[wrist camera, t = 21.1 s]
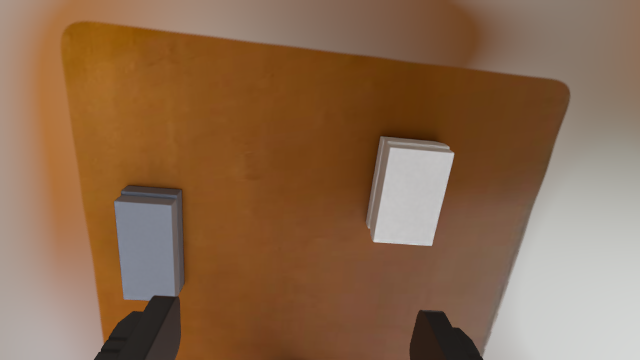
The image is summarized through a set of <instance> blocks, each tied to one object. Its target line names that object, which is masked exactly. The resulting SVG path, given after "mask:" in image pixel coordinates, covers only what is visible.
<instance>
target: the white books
mask: <svg viewBox="0 0 640 360" xmlns="http://www.w3.org/2000/svg"><path fill="white" fill-rule="evenodd" d="M387 143H388V144H399V145H410V146H420V147H431V148H442V149H449V146H447V145H446V144H444V143H439V142H435V141H425V140H414V139H404V138H393V137H383V136H381V137H380V142H379V148H378V154H377V160H376V165H375V171H374V177H373V183H372V189H371V195H370V201H369V207H368V213H367V218H366V224H367V226H368V228H370V230H371V229H372V224H373V218H374V212H375V207H376V201H377V195H378V190H379V184H380V178H381V173H382V167H383V161H384V156H385V150H386V145H387Z"/></svg>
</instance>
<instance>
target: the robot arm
mask: <svg viewBox="0 0 640 360" xmlns="http://www.w3.org/2000/svg"><path fill="white" fill-rule="evenodd" d="M180 338H181V324H180V300H179V297H178V296H159V295H154V296H153V297H152V298H151V300H150V301H149V303H148V305H147V306H146V308H145V310H144V311H143V312H137V311H133V312H132V313H130V314H129V315H128V316H126V317H125V318H124V319H123V320H121V321H120V322H119V323H118V324H117V326H116V327H115V329H114V330H113V332H112V333H111V335H110V336H109V339H108V340H107V341H106V342H105V344H104V345H103V347H102V348H101V352H99V353H98V354H97V356H96V357H95V359H94V360H175V358H176V355H177V352H178V349H179V345H180ZM410 360H483V358H482V357H481V356H480V353H479V351H478V350H477V348H476V346H475V345H474V343H473V341H472V340H471V339H470V338H469V337H468V336H467V335H466V334H465V333H464V332H463V331H462V330H461V329H460V328H453V327H452V326H451V324H450V322H449V320H448V318H447V317H446V315H445V313H444V312H443V311H432V310H420V311H419V312H418V315H417V319H416V323H415V327H414V331H413V335H412V339H411V343H410Z"/></svg>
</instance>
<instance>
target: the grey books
mask: <svg viewBox="0 0 640 360" xmlns="http://www.w3.org/2000/svg"><path fill="white" fill-rule="evenodd" d="M114 205H115V216H116V226H117V236H118V246H119V256H120V266H121V276H122V286H123V296H124V299H130V300H151V298H152V297H153V296H154V295H159V296H178V295H179V293H180V291H181V289H182V287H183V285H184V257H183V222H182V190H178V189H165V188H153V187H140V186H127V187H126V188H124V189H123V190H122V191H121V196H120V197H119V198H117V199H116V200H115V201H114Z"/></svg>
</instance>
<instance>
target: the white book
mask: <svg viewBox="0 0 640 360" xmlns="http://www.w3.org/2000/svg"><path fill="white" fill-rule="evenodd" d="M453 157H454V153H453V152H452V151H450V150H449V149H442V148H431V147H420V146H410V145H399V144H388V143H387V145H386V150H385V156H384V161H383V167H382V173H381V178H380V184H379V190H378V195H377V201H376V207H375V212H374V218H373V224H372V229H371V237H372V240H373V242H384V243H398V244H413V245H427V246H432V242H433V238H434V234H435V230H436V226H437V222H438V218H439V214H440V210H441V206H442V202H443V198H444V194H445V190H446V186H447V182H448V177H449V173H450V169H451V165H452V161H453Z"/></svg>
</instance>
